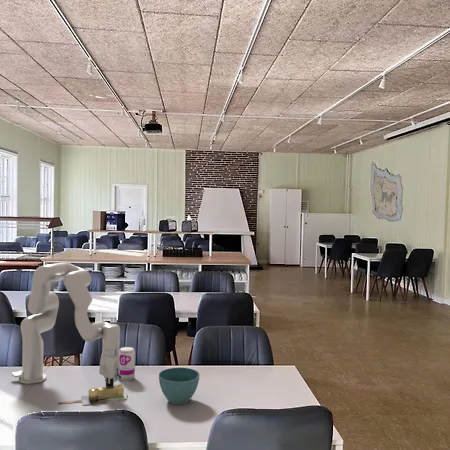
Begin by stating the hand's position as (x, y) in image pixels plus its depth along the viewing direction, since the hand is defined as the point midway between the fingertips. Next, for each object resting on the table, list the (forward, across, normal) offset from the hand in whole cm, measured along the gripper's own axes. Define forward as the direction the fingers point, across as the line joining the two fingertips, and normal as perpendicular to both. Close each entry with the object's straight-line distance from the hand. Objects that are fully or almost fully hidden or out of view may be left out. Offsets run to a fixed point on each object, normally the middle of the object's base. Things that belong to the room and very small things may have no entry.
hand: (109, 390), depth 226 cm
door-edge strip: (+2, +1, -9) cm, 9 cm away
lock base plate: (+2, +1, -9) cm, 9 cm away
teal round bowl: (+1, +27, +18) cm, 33 cm away
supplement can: (+2, -11, +18) cm, 21 cm away
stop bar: (+1, +3, -4) cm, 5 cm away
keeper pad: (+2, +6, 0) cm, 6 cm away
